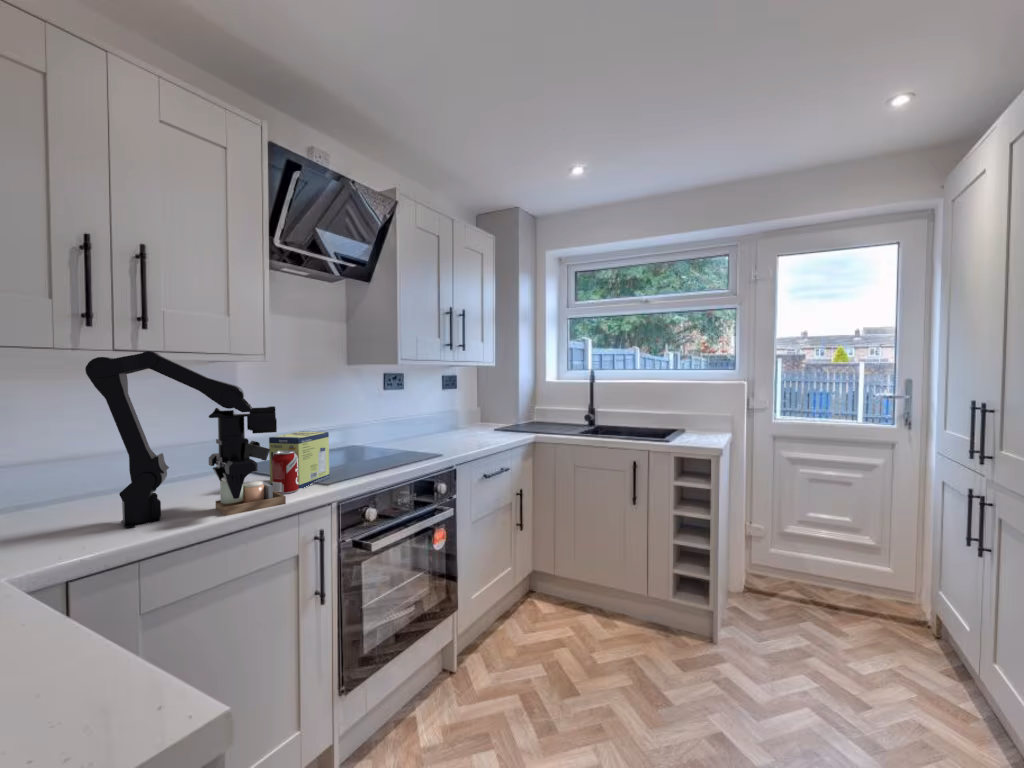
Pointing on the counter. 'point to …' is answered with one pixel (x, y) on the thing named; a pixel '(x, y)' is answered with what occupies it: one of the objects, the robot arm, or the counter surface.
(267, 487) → the bar
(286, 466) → the soda can
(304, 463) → the protein box
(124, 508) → the robot arm
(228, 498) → the sage jar
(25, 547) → the counter surface
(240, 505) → the wooden tray
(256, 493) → the terracotta jar
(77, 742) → the counter surface
